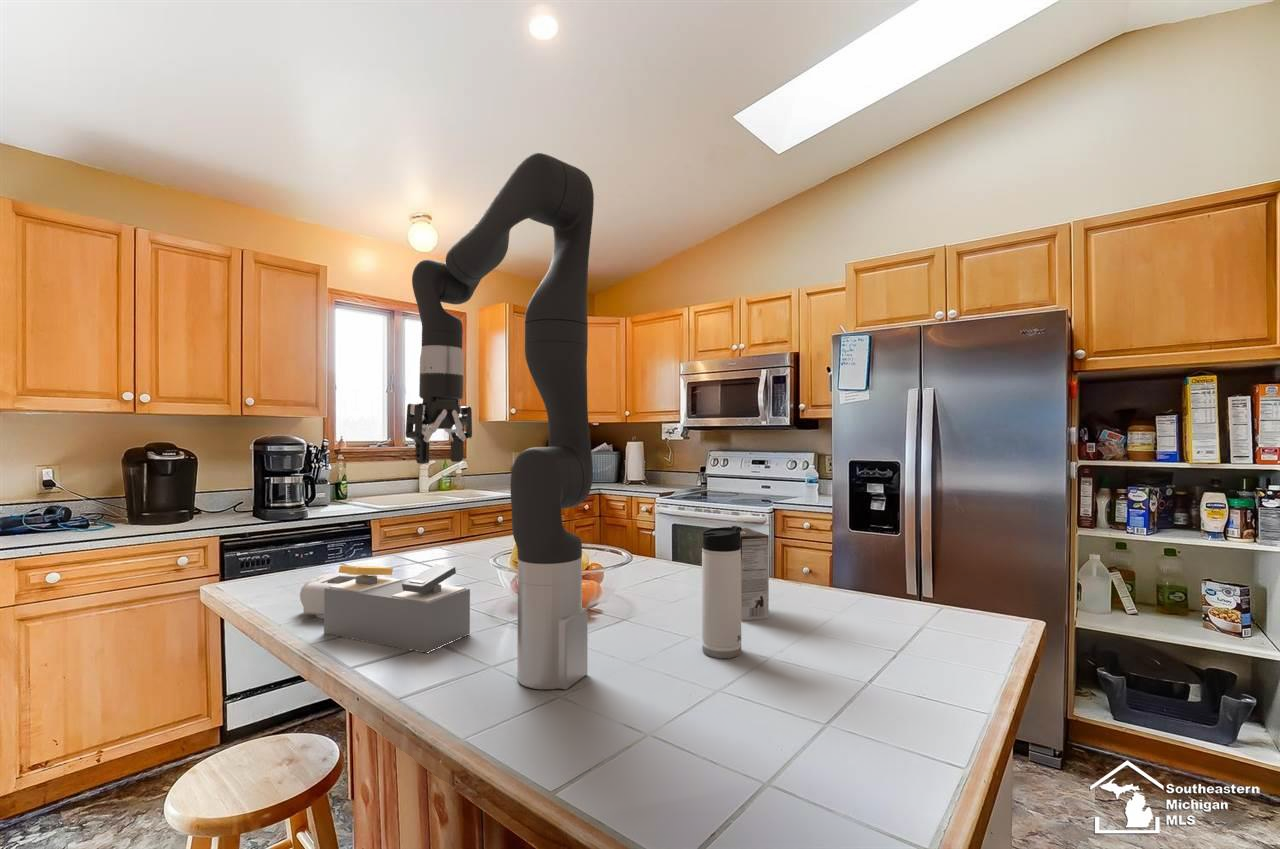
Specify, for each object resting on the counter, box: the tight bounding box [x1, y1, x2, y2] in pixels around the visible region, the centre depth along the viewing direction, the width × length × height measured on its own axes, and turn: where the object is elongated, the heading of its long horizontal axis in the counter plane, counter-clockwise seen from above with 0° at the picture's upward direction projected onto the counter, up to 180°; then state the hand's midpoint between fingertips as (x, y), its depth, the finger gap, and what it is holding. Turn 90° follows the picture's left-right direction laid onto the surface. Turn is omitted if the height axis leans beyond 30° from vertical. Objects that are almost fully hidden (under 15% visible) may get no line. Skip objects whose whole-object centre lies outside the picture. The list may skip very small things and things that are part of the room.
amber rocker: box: [338, 564, 394, 576], centre depth 107 cm, size 4×8×1 cm, turn 156°
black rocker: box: [402, 564, 457, 593], centre depth 101 cm, size 4×8×1 cm, turn 156°
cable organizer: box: [299, 573, 359, 618], centre depth 119 cm, size 7×12×12 cm
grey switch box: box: [323, 575, 471, 652], centre depth 104 cm, size 24×10×9 cm, turn 66°
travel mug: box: [701, 525, 742, 659], centre depth 96 cm, size 6×7×20 cm
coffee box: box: [740, 527, 770, 622], centre depth 116 cm, size 9×6×16 cm
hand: (440, 462), depth 107 cm, fingers open, 8 cm apart
